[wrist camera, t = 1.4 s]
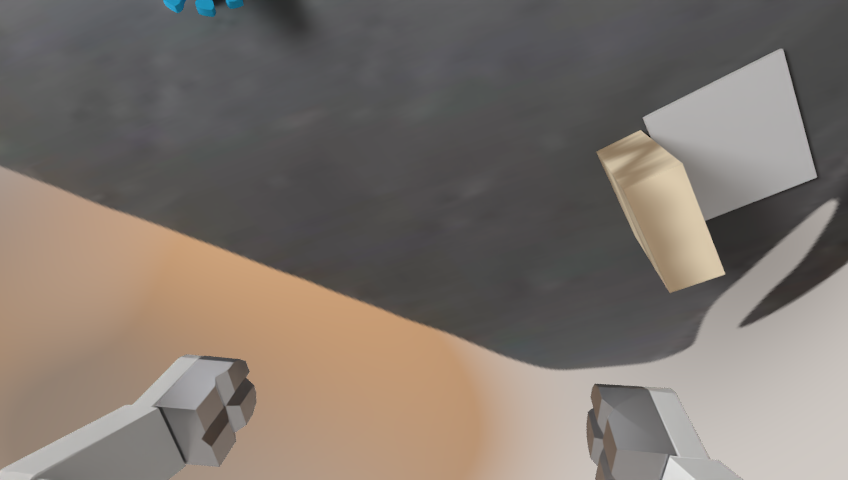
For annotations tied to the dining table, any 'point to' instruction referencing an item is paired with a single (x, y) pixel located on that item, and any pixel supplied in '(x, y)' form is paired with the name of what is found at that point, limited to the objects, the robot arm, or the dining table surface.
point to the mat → (737, 136)
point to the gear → (201, 6)
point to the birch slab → (661, 210)
